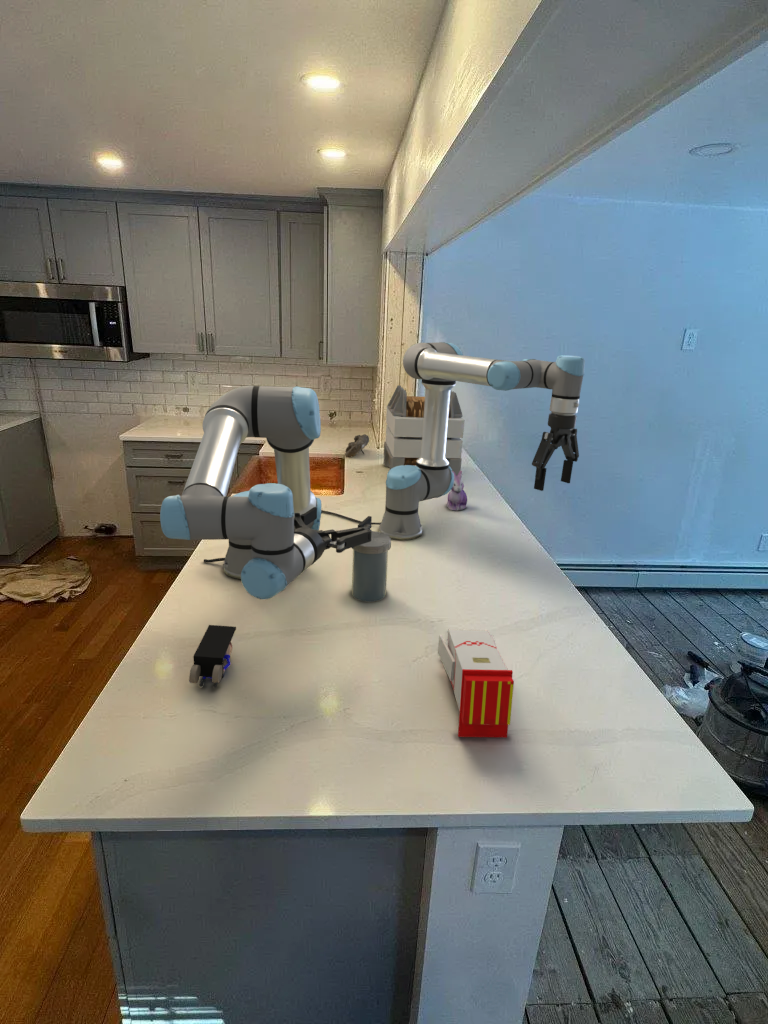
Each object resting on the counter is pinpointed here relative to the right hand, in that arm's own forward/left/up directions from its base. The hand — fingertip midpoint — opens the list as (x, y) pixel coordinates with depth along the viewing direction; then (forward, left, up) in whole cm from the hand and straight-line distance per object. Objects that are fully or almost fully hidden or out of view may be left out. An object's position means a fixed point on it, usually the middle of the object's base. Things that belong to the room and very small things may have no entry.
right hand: (552, 485), depth 166 cm
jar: (-20, -51, -28) cm, 62 cm away
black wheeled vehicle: (-12, -100, -28) cm, 105 cm away
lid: (-20, -51, -12) cm, 56 cm away
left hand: (-11, -68, +1) cm, 69 cm away
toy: (+26, -62, -28) cm, 72 cm away
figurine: (-56, +24, -28) cm, 67 cm away
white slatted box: (-101, +46, -28) cm, 115 cm away
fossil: (-147, +44, -28) cm, 156 cm away
